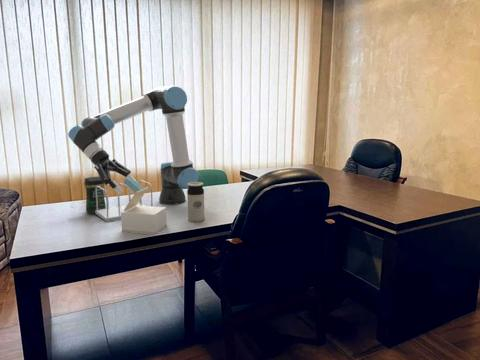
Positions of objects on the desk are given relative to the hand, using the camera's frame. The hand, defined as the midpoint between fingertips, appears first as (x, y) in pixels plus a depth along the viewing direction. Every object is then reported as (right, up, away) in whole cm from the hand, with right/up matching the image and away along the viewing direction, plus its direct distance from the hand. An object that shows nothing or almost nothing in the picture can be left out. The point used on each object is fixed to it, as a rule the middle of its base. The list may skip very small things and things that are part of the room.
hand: (129, 189), depth 168 cm
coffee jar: (-26, -13, +30) cm, 42 cm away
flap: (+3, -4, 0) cm, 6 cm away
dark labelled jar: (+28, -15, +16) cm, 36 cm away
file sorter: (-10, -13, +27) cm, 31 cm away
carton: (+6, -18, +2) cm, 19 cm away
